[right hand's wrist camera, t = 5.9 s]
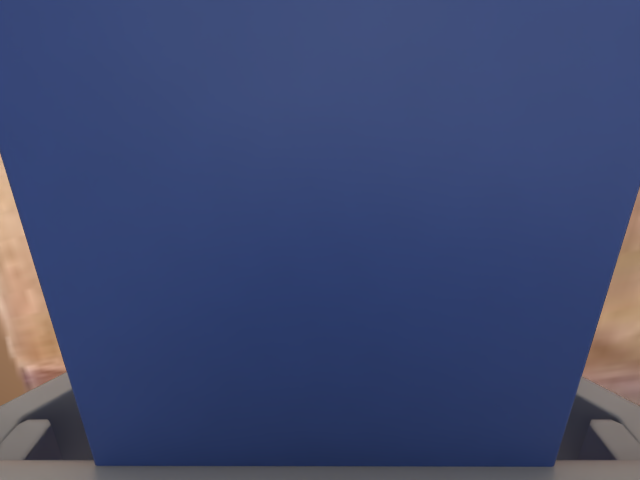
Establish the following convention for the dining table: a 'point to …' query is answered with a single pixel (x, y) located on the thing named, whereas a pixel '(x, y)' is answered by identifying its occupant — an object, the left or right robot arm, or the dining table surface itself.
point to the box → (323, 219)
